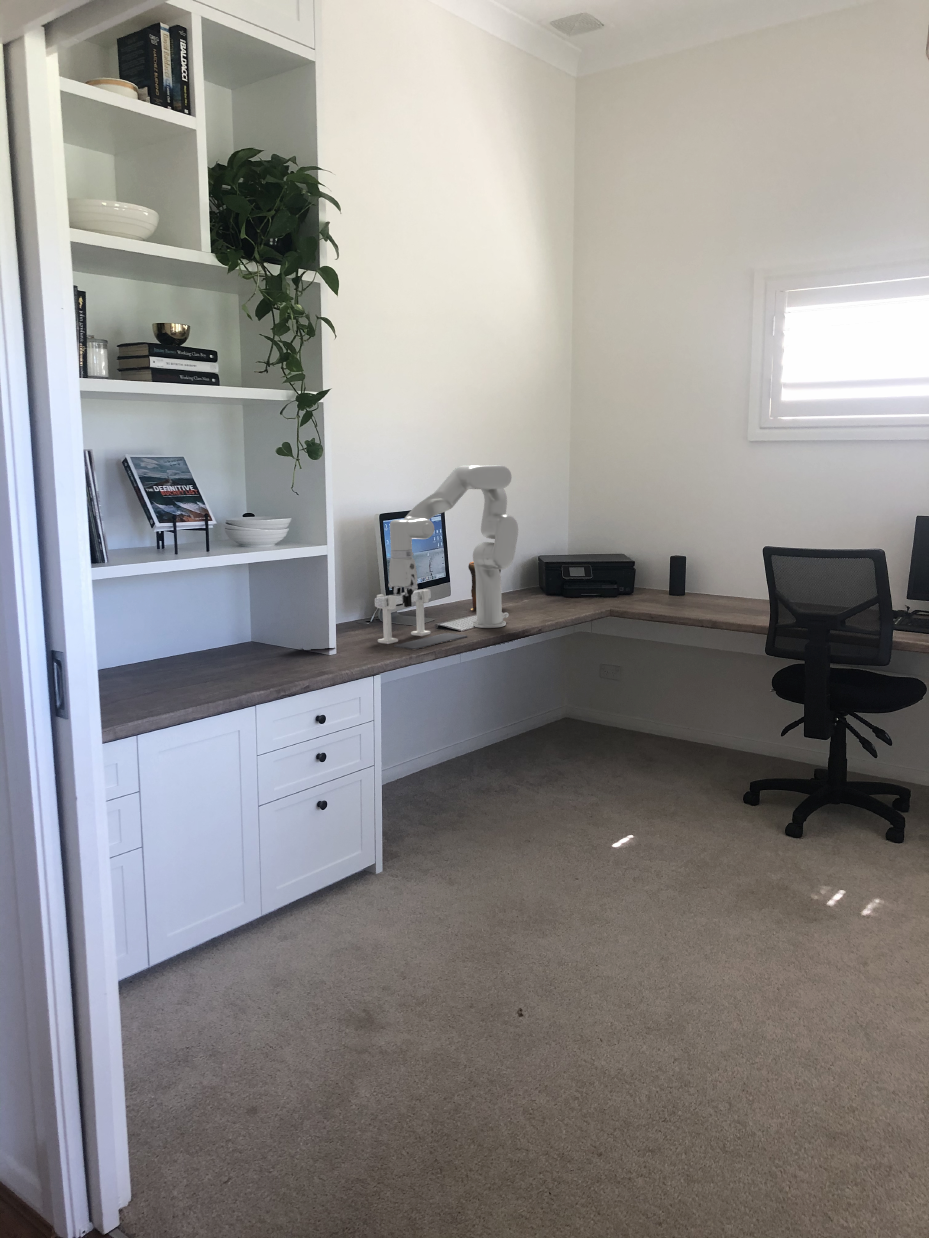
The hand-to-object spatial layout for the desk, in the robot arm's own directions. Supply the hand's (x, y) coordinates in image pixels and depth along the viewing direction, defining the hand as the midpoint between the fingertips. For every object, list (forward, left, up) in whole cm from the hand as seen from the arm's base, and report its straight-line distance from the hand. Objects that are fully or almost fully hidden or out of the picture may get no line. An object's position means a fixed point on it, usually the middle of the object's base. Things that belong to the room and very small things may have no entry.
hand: (403, 605), depth 339 cm
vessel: (-65, -15, -12) cm, 68 cm away
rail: (0, 0, +1) cm, 1 cm away
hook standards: (0, 0, -12) cm, 12 cm away
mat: (0, +13, -12) cm, 18 cm away
